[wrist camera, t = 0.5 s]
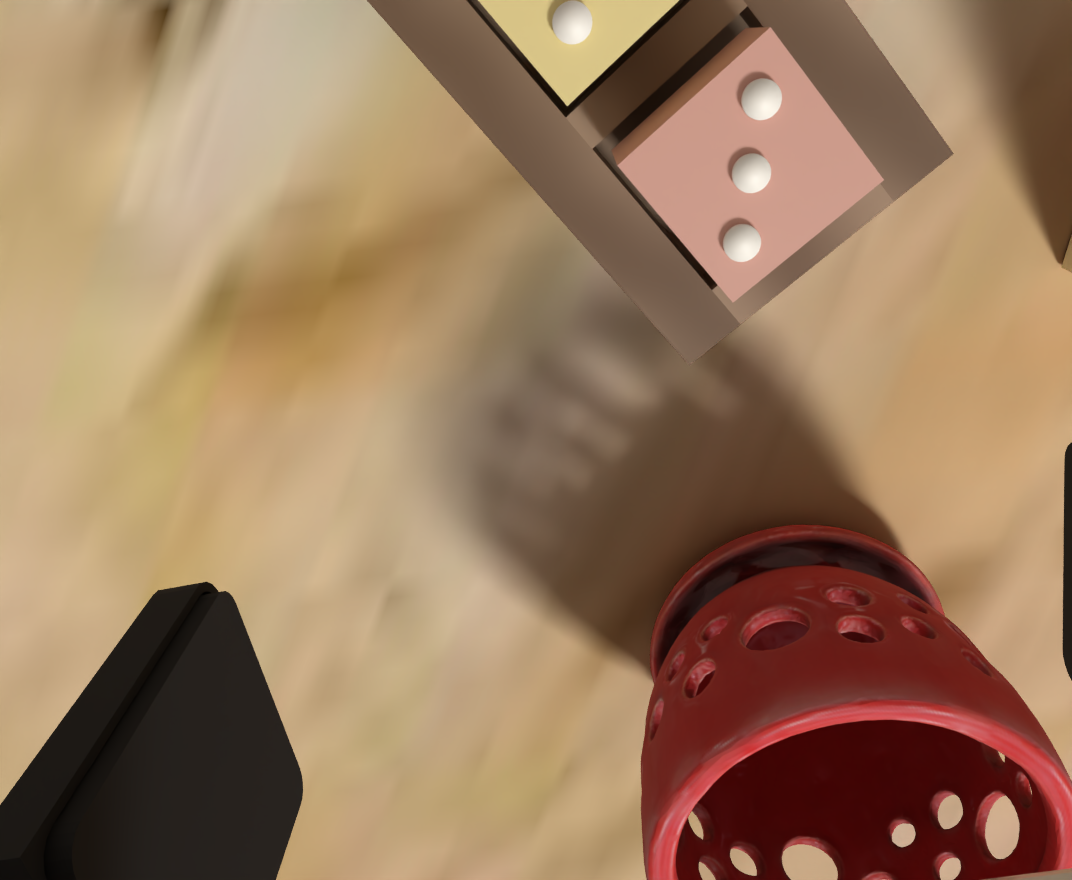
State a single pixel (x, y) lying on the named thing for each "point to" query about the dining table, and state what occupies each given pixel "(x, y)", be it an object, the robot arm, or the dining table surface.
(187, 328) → the dining table surface
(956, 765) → the plant pot
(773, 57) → the three-pip tile
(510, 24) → the tile
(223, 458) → the dining table surface
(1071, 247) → the milk carton
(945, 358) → the dining table surface
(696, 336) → the wooden tile rack
